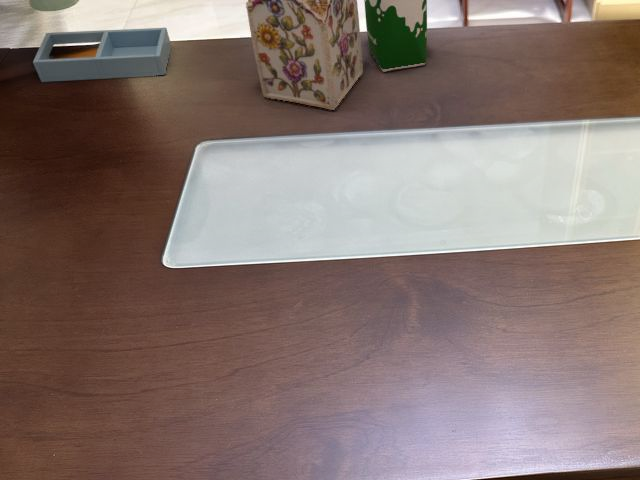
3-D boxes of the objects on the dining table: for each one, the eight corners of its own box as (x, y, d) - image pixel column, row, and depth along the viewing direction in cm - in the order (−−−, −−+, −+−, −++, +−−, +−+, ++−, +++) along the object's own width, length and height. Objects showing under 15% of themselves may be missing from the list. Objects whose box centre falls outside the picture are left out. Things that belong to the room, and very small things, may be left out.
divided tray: (41, 82, 107) (32, 62, 104) (54, 52, 113) (46, 32, 110) (165, 75, 109) (159, 55, 107) (171, 46, 115) (166, 27, 113)
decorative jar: (335, 113, 103) (319, -17, 90) (261, 99, 105) (234, -31, 92) (365, 74, 111) (355, -52, 97) (296, 61, 113) (276, -64, 99)
